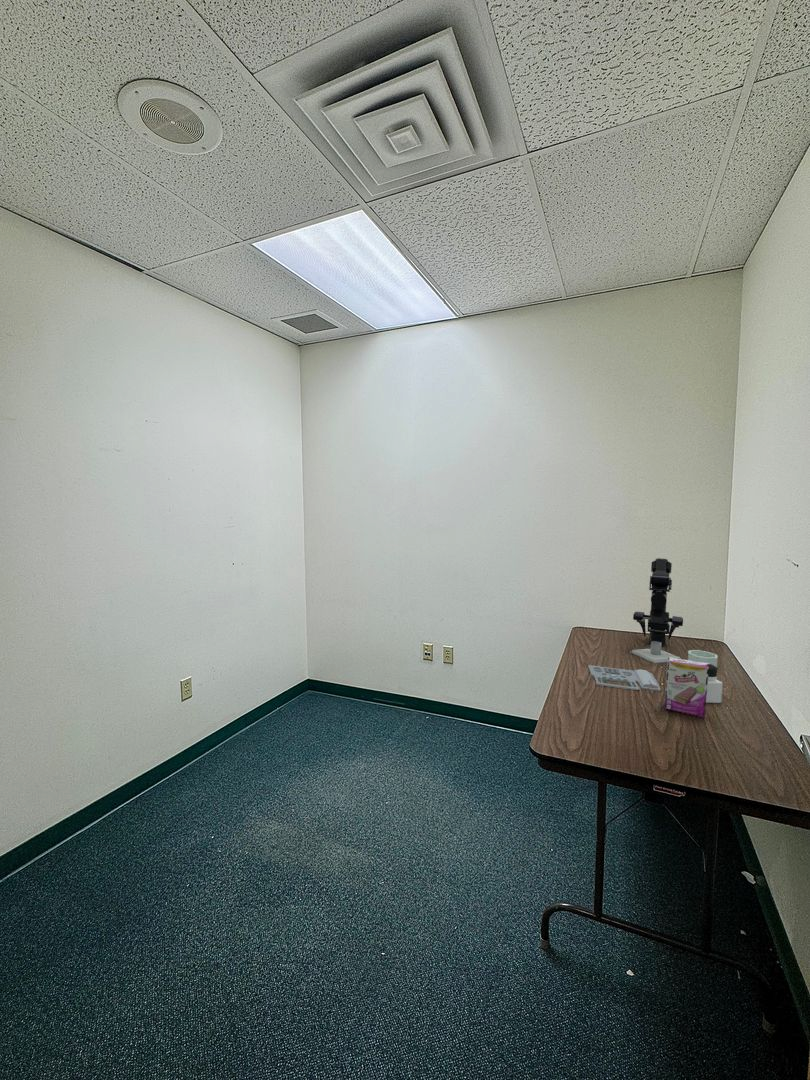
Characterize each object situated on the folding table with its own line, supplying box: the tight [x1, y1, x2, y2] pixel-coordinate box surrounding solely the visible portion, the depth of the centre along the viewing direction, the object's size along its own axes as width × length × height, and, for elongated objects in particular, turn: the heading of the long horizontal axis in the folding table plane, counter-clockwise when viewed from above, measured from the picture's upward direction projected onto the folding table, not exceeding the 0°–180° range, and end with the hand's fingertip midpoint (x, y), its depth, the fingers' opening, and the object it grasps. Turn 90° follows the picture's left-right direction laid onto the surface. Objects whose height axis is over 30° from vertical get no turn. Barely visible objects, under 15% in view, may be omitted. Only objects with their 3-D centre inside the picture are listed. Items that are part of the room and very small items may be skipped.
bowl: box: [687, 649, 719, 669], centre depth 185 cm, size 10×10×5 cm
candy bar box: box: [664, 657, 709, 719], centre depth 143 cm, size 11×5×16 cm, turn 59°
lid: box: [631, 641, 681, 663], centre depth 196 cm, size 13×13×6 cm
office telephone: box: [588, 664, 661, 692], centre depth 170 cm, size 23×3×20 cm
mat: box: [628, 650, 668, 664], centre depth 196 cm, size 15×15×1 cm
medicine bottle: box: [706, 663, 724, 704], centre depth 153 cm, size 7×7×12 cm
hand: (656, 637), depth 195 cm, fingers open, 9 cm apart
